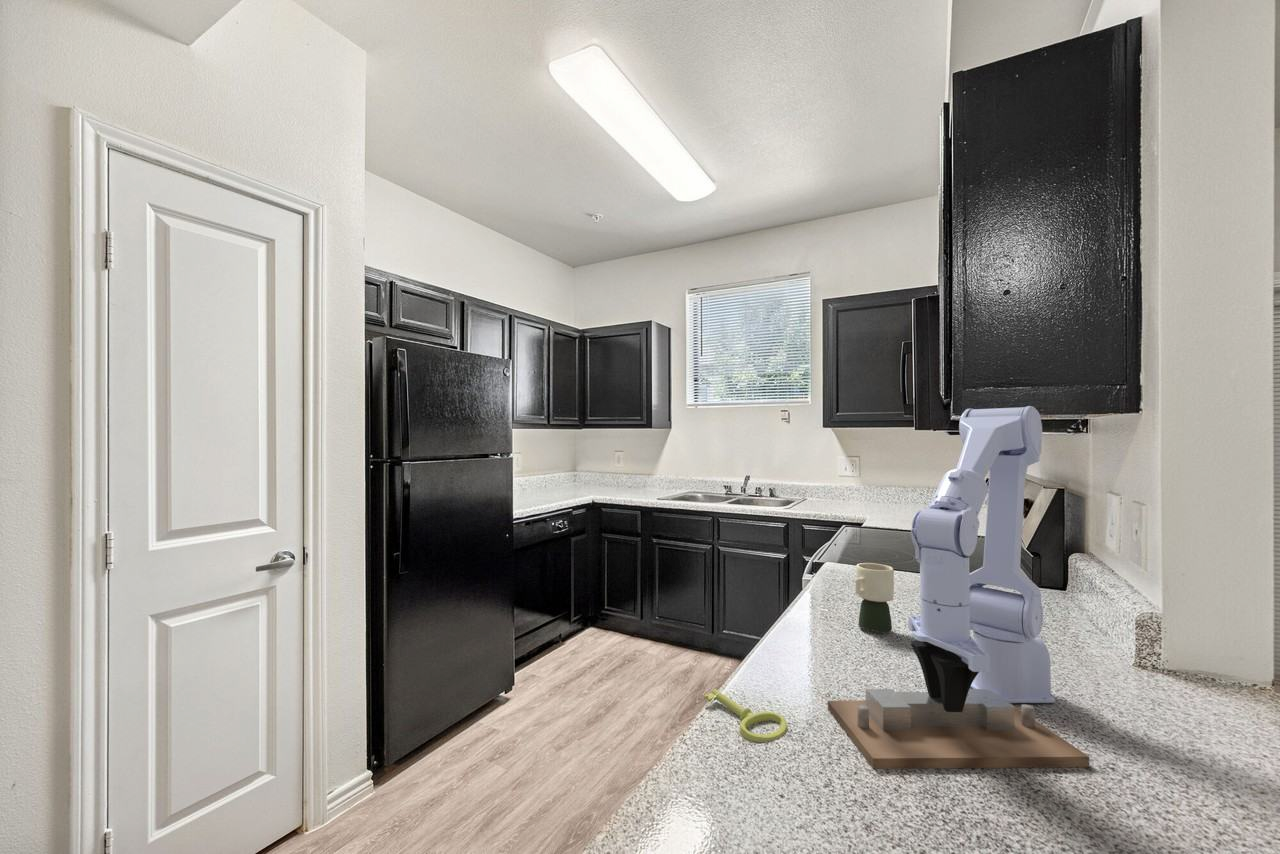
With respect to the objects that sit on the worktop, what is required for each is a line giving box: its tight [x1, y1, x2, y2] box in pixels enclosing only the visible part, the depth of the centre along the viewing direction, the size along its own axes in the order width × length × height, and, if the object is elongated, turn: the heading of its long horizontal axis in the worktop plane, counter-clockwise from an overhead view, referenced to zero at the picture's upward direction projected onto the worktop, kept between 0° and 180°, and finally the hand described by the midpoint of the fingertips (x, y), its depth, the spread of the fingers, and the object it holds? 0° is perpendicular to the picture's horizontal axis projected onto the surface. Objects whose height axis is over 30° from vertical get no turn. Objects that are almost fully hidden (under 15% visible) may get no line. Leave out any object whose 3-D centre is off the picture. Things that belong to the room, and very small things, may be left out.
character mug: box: [854, 562, 895, 634], centre depth 109 cm, size 11×7×13 cm, turn 117°
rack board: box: [827, 699, 1090, 770], centre depth 70 cm, size 26×14×4 cm, turn 91°
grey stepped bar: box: [865, 688, 1015, 731], centre depth 71 cm, size 17×5×3 cm, turn 91°
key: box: [703, 688, 788, 743], centre depth 73 cm, size 7×12×2 cm, turn 54°
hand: (945, 704), depth 70 cm, fingers open, 3 cm apart
